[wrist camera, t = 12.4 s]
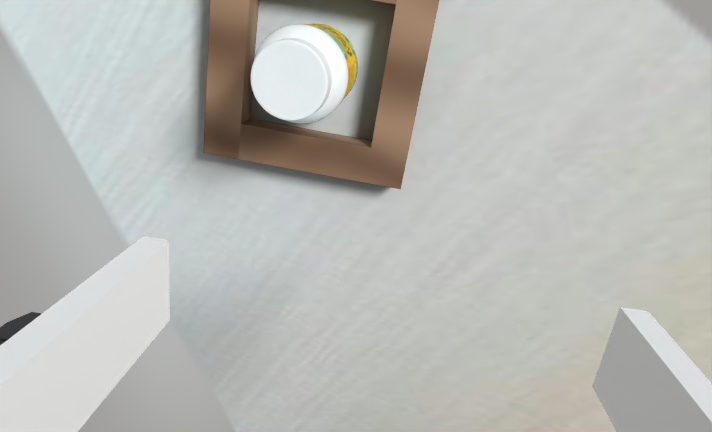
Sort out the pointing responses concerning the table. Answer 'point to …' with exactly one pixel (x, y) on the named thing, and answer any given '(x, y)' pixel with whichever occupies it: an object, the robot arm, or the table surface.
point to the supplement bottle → (303, 72)
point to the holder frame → (303, 146)
